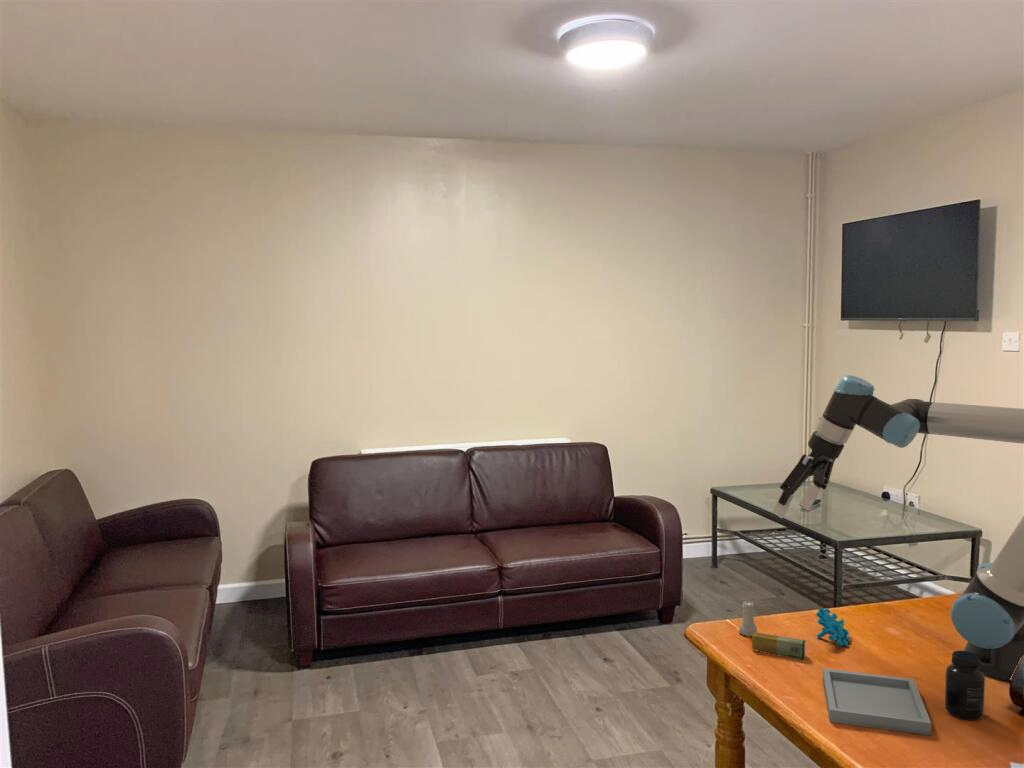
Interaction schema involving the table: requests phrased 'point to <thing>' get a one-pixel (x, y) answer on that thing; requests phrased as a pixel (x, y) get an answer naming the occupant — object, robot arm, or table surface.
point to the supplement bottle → (965, 686)
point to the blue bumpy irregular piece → (832, 627)
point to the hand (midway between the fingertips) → (791, 511)
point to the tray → (875, 701)
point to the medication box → (779, 645)
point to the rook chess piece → (748, 619)
